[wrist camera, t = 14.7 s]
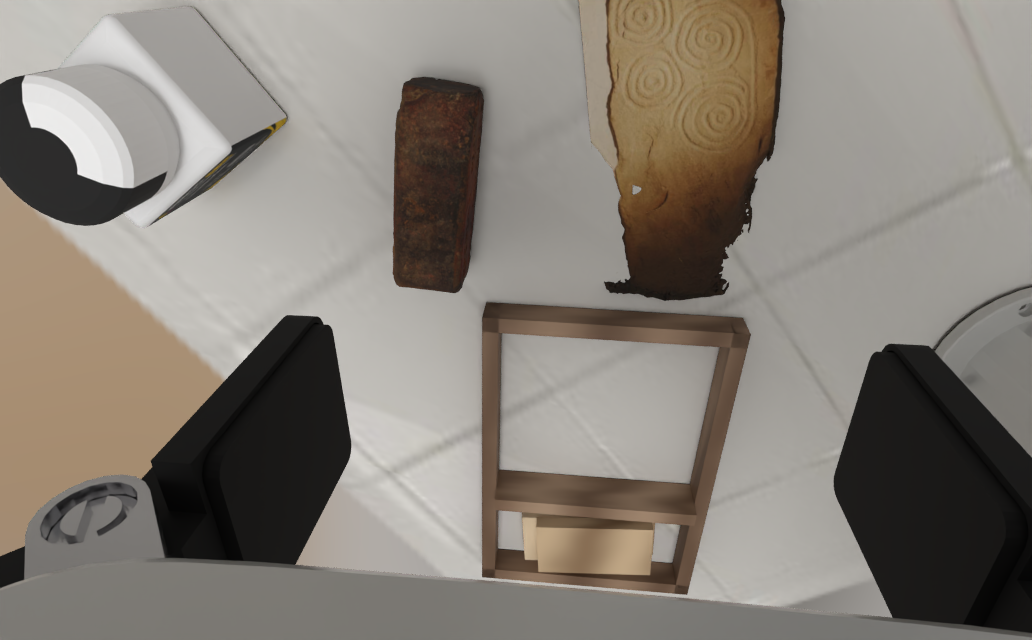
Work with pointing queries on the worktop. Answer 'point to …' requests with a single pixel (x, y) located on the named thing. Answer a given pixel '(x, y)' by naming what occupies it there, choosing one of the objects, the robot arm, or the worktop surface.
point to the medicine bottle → (132, 120)
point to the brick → (435, 182)
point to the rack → (594, 492)
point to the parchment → (682, 128)
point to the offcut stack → (588, 544)
